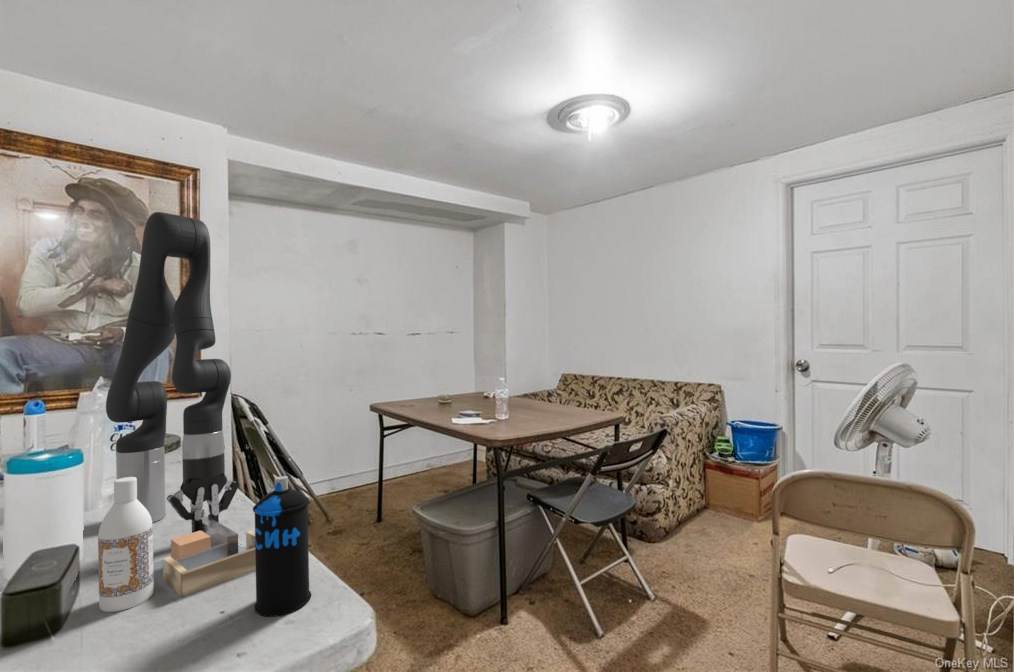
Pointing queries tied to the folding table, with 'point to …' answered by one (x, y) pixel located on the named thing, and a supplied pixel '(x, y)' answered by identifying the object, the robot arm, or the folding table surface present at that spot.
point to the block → (189, 544)
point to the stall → (210, 570)
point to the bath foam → (125, 551)
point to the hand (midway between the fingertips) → (205, 534)
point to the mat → (159, 579)
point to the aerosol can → (281, 551)
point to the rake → (212, 545)
